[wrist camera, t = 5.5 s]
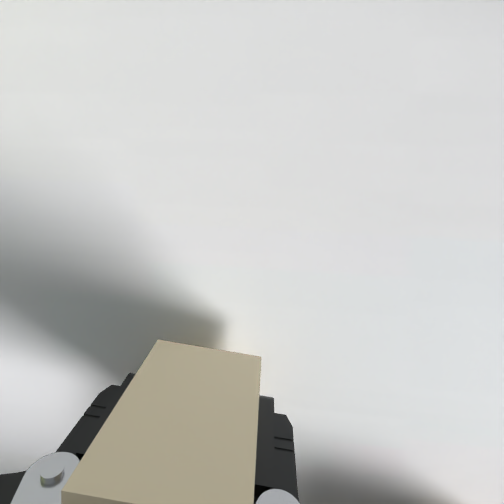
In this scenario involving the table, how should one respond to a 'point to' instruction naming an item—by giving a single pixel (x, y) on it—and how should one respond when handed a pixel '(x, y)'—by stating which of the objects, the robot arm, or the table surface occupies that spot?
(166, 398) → the teal and cream dumbbell
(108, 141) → the table surface
